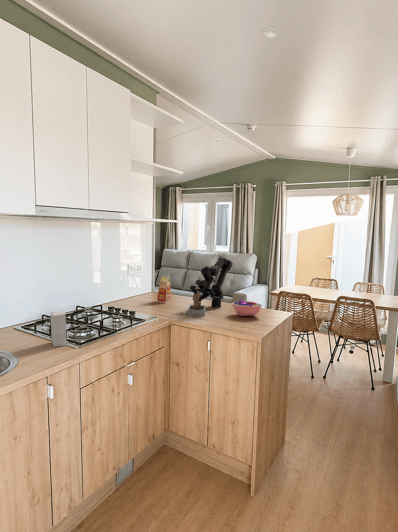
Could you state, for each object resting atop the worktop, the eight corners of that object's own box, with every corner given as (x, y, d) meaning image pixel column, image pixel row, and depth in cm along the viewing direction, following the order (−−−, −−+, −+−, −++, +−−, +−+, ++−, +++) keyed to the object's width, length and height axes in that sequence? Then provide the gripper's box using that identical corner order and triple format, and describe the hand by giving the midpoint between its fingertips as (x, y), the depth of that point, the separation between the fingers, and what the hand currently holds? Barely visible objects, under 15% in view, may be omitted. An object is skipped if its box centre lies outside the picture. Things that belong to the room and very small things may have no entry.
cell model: (261, 320, 215) (262, 302, 214) (229, 317, 219) (230, 300, 218) (261, 314, 232) (262, 297, 231) (232, 311, 236) (233, 295, 235)
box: (205, 310, 237) (205, 305, 236) (204, 315, 222) (204, 310, 221) (189, 309, 237) (189, 304, 237) (187, 315, 222) (187, 309, 222)
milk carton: (156, 302, 258) (157, 276, 256) (161, 300, 267) (162, 274, 265) (167, 303, 255) (168, 277, 253) (172, 301, 264) (173, 275, 262)
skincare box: (66, 345, 157) (66, 314, 156) (52, 347, 155) (52, 315, 153) (64, 340, 165) (64, 310, 163) (50, 341, 162) (50, 311, 160)
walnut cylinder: (200, 309, 232) (201, 293, 231) (200, 310, 227) (201, 294, 226) (193, 308, 232) (194, 293, 231) (193, 310, 227) (193, 294, 226)
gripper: (191, 273, 236) (180, 291, 229) (212, 276, 224) (201, 295, 217) (199, 283, 243) (188, 301, 236) (219, 287, 230) (208, 305, 223)
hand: (195, 300), depth 228 cm, fingers closed on walnut cylinder, 5 cm apart
